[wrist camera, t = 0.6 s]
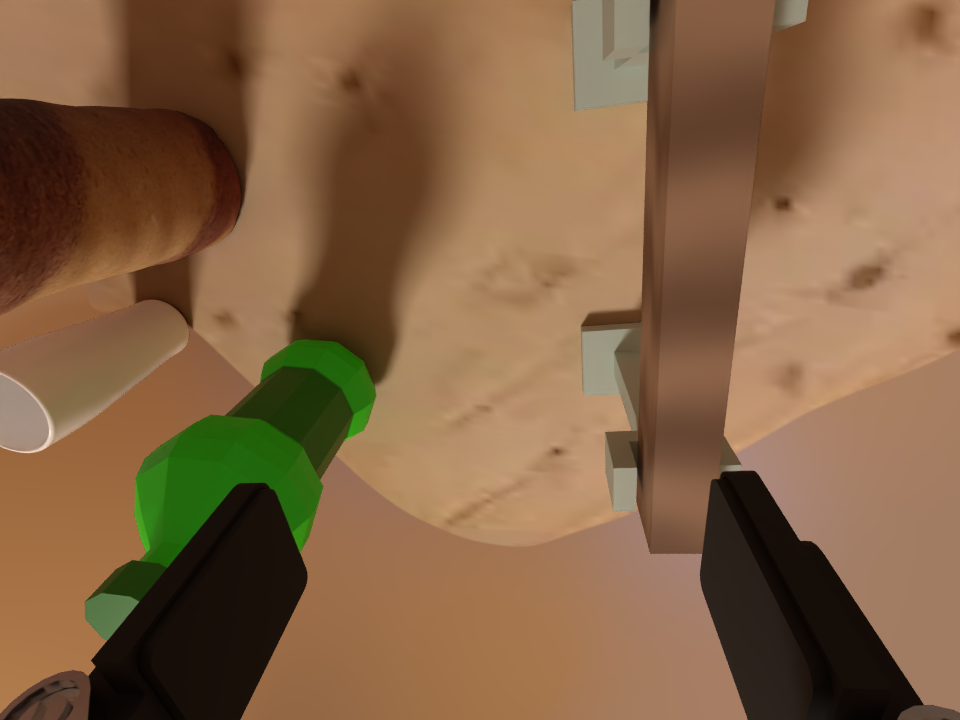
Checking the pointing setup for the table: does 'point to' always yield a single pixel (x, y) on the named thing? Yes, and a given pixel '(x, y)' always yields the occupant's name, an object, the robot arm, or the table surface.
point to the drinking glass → (81, 371)
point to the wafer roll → (105, 193)
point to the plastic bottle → (242, 463)
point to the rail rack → (609, 82)
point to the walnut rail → (694, 248)
